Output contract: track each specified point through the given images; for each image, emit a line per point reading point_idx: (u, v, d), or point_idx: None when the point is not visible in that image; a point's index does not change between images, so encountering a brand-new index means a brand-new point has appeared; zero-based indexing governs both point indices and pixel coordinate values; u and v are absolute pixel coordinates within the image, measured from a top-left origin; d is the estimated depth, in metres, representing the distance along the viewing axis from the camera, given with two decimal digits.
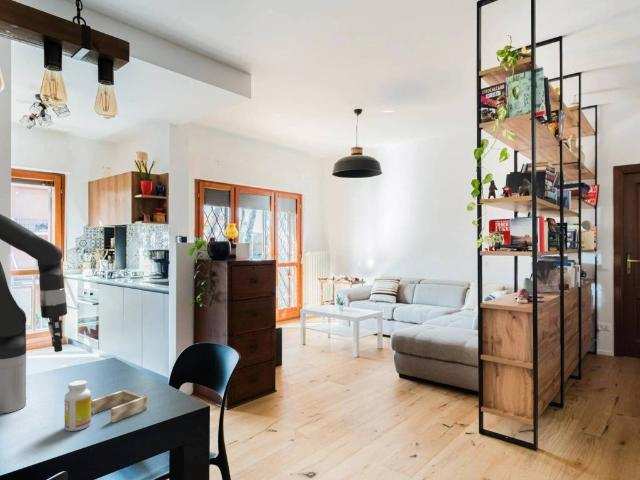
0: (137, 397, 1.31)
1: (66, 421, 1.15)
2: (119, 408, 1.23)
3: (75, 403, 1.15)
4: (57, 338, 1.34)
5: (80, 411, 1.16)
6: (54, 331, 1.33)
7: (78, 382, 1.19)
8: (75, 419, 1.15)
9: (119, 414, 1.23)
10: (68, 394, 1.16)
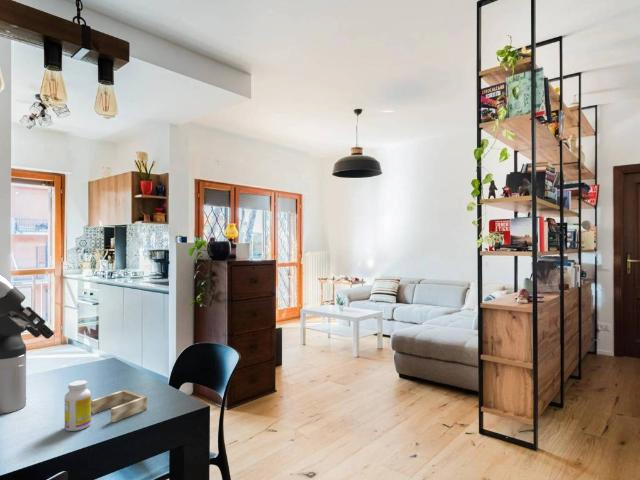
0: (137, 397, 1.31)
1: (66, 421, 1.15)
2: (119, 408, 1.23)
3: (75, 403, 1.15)
4: (40, 324, 1.07)
5: (80, 411, 1.16)
6: (30, 319, 1.05)
7: (78, 382, 1.19)
8: (75, 419, 1.15)
9: (119, 414, 1.23)
10: (68, 394, 1.16)
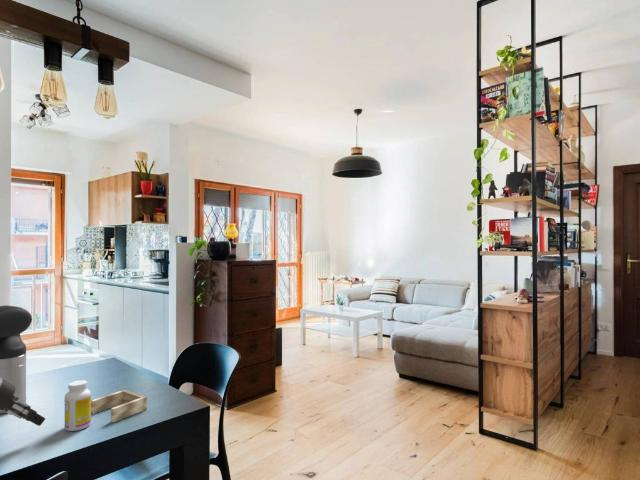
0: (137, 397, 1.31)
1: (66, 421, 1.15)
2: (119, 408, 1.23)
3: (75, 403, 1.15)
4: (31, 416, 1.06)
5: (80, 411, 1.16)
6: (27, 417, 1.03)
7: (78, 382, 1.19)
8: (75, 419, 1.15)
9: (119, 414, 1.23)
10: (68, 394, 1.16)
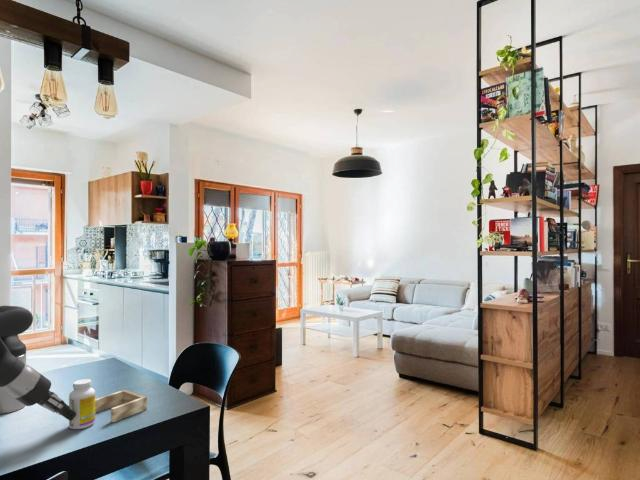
0: (137, 397, 1.31)
1: None
2: (119, 408, 1.23)
3: (79, 401, 1.16)
4: (64, 411, 1.11)
5: (84, 409, 1.17)
6: (61, 411, 1.09)
7: (82, 381, 1.20)
8: (79, 418, 1.16)
9: (119, 414, 1.23)
10: (72, 393, 1.17)
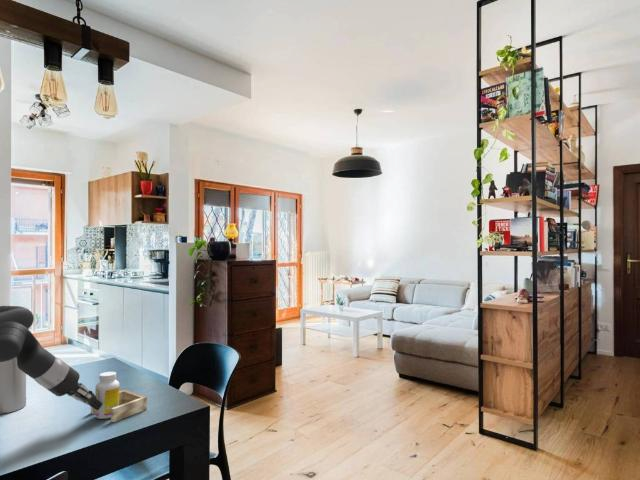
0: (137, 397, 1.31)
1: None
2: (119, 408, 1.23)
3: (104, 392, 1.23)
4: (92, 400, 1.17)
5: (108, 400, 1.23)
6: (89, 401, 1.15)
7: (108, 373, 1.27)
8: (104, 408, 1.23)
9: (119, 414, 1.23)
10: (99, 384, 1.24)
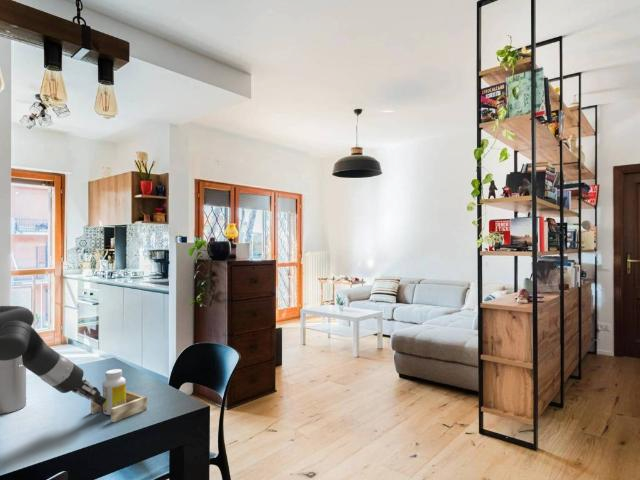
0: (137, 397, 1.31)
1: (104, 405, 1.26)
2: (119, 408, 1.23)
3: (111, 389, 1.26)
4: (96, 397, 1.20)
5: (116, 397, 1.26)
6: (94, 397, 1.17)
7: (114, 370, 1.29)
8: (112, 404, 1.26)
9: (119, 414, 1.23)
10: (105, 381, 1.27)
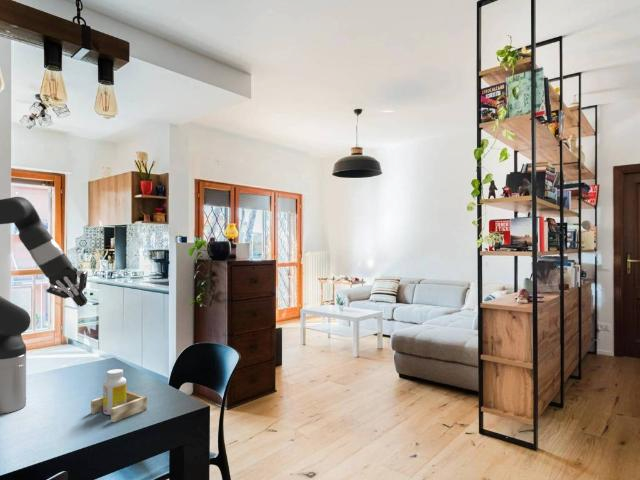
0: (137, 397, 1.31)
1: (104, 405, 1.26)
2: (119, 408, 1.23)
3: (112, 389, 1.26)
4: (83, 287, 1.25)
5: (116, 397, 1.26)
6: (84, 281, 1.24)
7: (115, 370, 1.29)
8: (112, 404, 1.26)
9: (119, 414, 1.23)
10: (106, 381, 1.27)
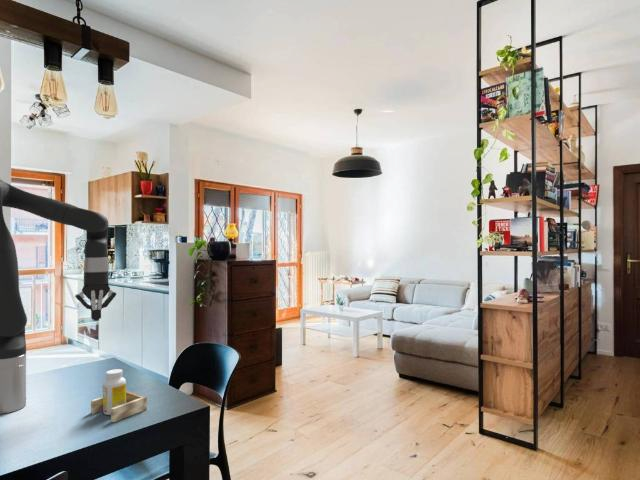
0: (137, 397, 1.31)
1: (104, 405, 1.26)
2: (119, 408, 1.23)
3: (111, 389, 1.26)
4: None
5: (116, 397, 1.26)
6: None
7: (114, 370, 1.29)
8: (112, 405, 1.26)
9: (119, 414, 1.23)
10: (106, 381, 1.27)
